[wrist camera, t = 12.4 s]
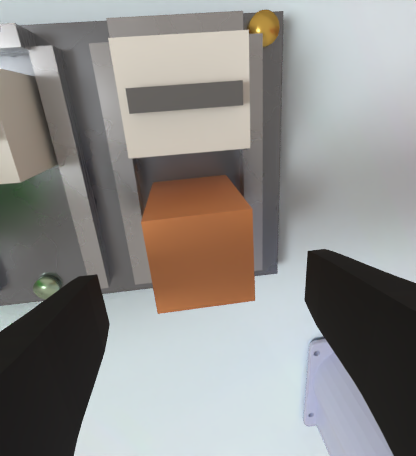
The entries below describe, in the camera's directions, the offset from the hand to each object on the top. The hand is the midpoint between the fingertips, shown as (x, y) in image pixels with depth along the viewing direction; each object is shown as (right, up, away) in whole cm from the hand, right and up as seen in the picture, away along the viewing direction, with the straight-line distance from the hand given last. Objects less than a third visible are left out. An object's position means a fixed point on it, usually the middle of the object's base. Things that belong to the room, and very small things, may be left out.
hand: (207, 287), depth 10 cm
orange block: (-1, +3, +7) cm, 7 cm away
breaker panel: (-5, +5, +7) cm, 10 cm away
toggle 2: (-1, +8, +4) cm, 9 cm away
